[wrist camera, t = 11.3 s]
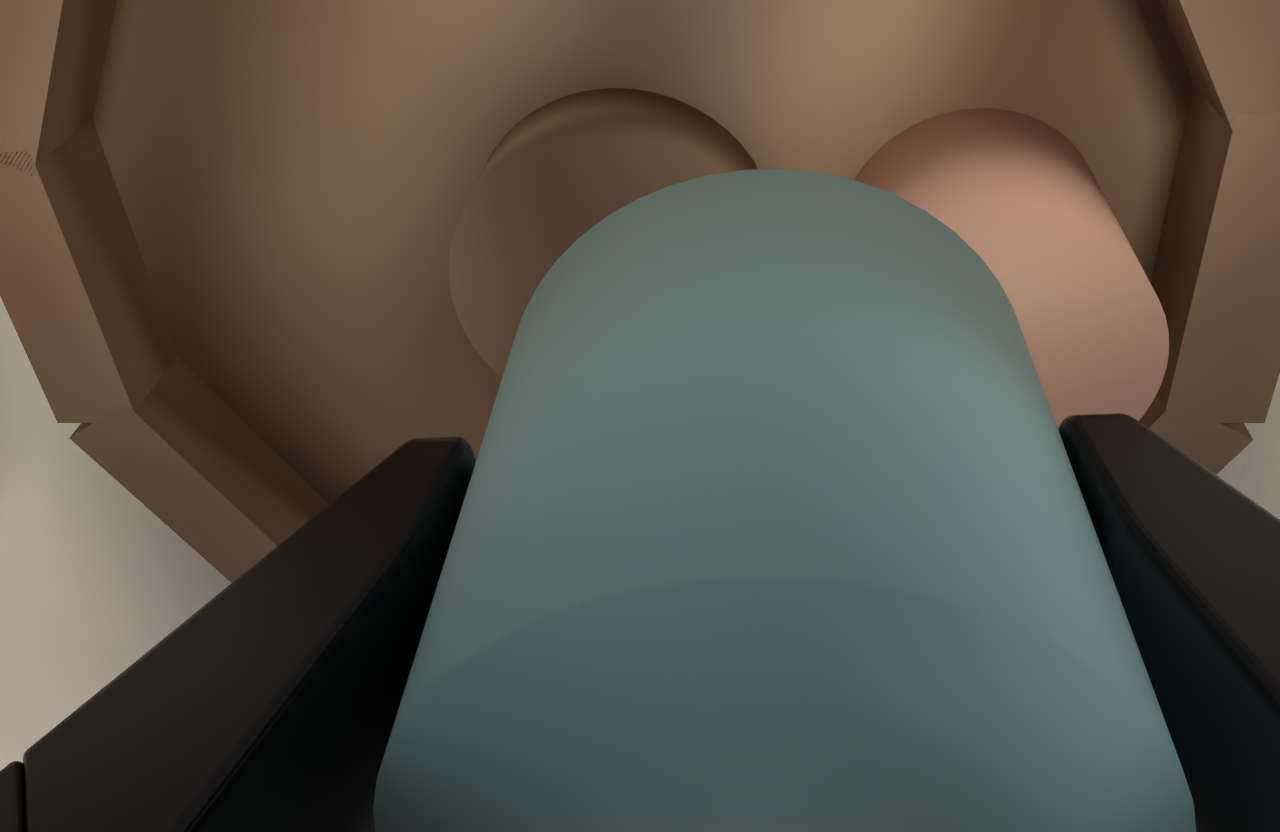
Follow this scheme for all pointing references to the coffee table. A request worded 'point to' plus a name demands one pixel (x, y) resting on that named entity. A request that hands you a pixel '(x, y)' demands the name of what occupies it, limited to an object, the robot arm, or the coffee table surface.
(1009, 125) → the bead terracotta
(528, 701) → the bead teal
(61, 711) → the coffee table surface
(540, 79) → the ring tray
